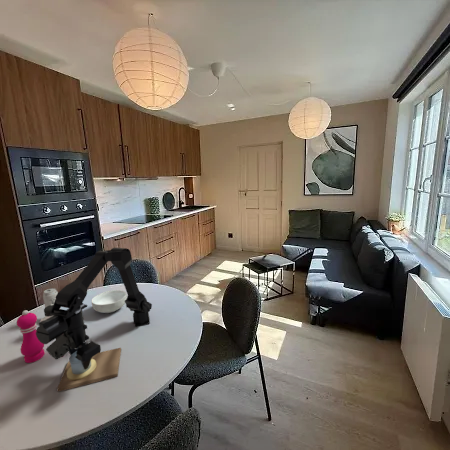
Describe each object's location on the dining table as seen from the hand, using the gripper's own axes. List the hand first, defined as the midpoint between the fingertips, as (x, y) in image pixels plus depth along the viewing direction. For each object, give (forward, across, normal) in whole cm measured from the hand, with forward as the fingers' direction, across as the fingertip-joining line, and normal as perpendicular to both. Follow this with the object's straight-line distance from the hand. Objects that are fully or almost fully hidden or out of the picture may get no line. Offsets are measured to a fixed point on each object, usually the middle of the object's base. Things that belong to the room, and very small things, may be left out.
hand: (81, 365), depth 87 cm
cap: (+1, 0, 0) cm, 1 cm away
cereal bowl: (+4, -32, +32) cm, 45 cm away
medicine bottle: (+4, -38, +8) cm, 39 cm away
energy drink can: (+3, -50, +12) cm, 51 cm away
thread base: (+3, +1, +3) cm, 4 cm away
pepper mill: (+3, -25, -5) cm, 26 cm away
